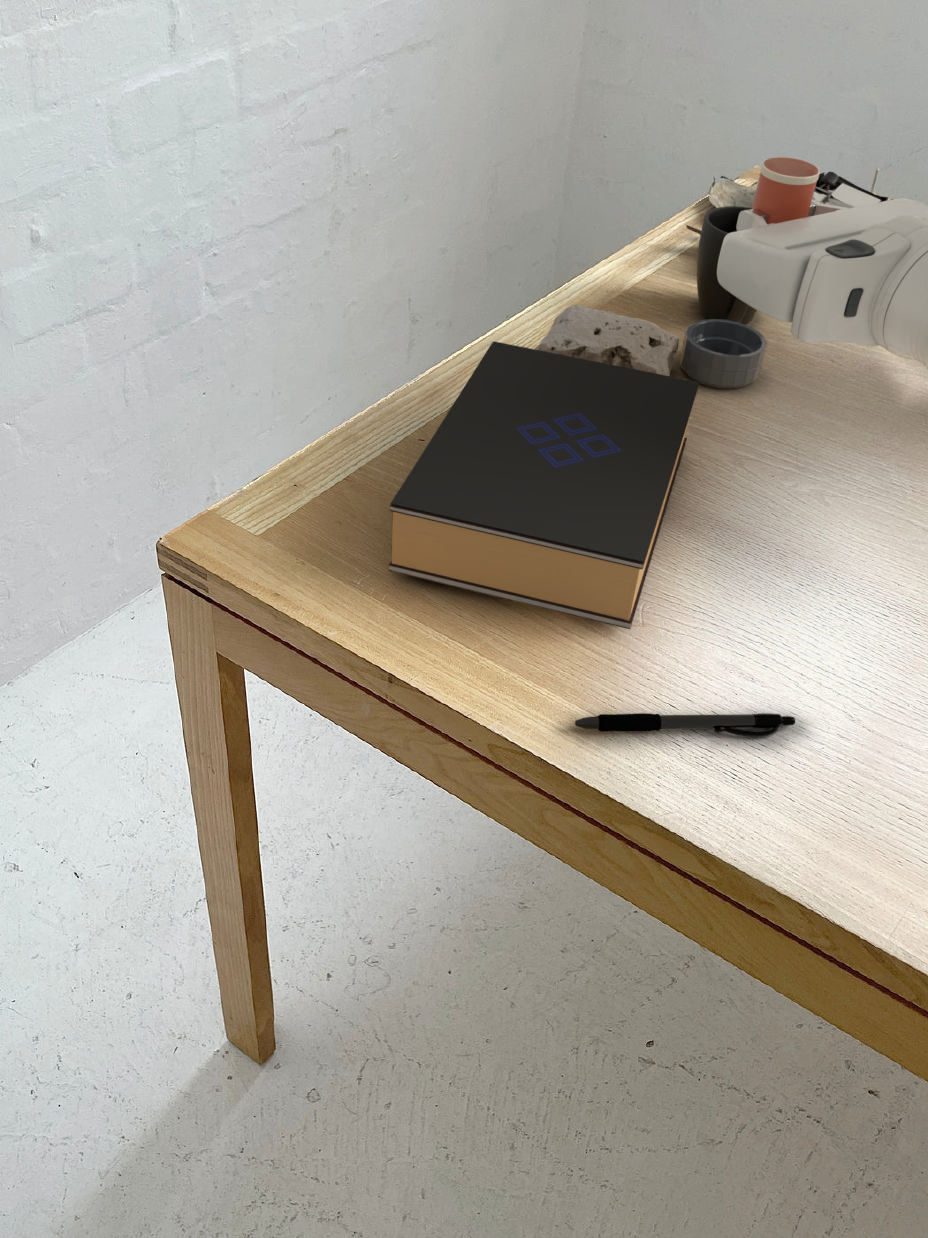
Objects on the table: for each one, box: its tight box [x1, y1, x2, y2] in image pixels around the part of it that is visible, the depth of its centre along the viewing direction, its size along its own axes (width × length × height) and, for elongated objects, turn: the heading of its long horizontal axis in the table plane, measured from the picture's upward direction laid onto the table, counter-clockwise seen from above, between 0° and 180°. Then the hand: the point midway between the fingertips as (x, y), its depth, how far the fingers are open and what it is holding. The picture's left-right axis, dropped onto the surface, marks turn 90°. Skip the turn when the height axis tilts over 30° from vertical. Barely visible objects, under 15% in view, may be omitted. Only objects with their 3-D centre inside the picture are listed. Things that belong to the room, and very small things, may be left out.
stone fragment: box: [695, 175, 759, 240], centre depth 135 cm, size 19×8×5 cm
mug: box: [696, 206, 758, 325], centre depth 111 cm, size 8×12×10 cm
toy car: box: [812, 171, 894, 208], centre depth 131 cm, size 7×15×4 cm, turn 38°
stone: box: [534, 304, 680, 376], centre depth 103 cm, size 13×6×10 cm
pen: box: [574, 712, 796, 739], centre depth 70 cm, size 14×2×1 cm, turn 95°
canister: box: [752, 156, 821, 225], centre depth 91 cm, size 4×4×10 cm
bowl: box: [679, 319, 768, 390], centre depth 105 cm, size 7×7×4 cm
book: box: [388, 341, 700, 630], centre depth 85 cm, size 17×25×7 cm
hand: (770, 213), depth 91 cm, fingers closed on canister, 4 cm apart
